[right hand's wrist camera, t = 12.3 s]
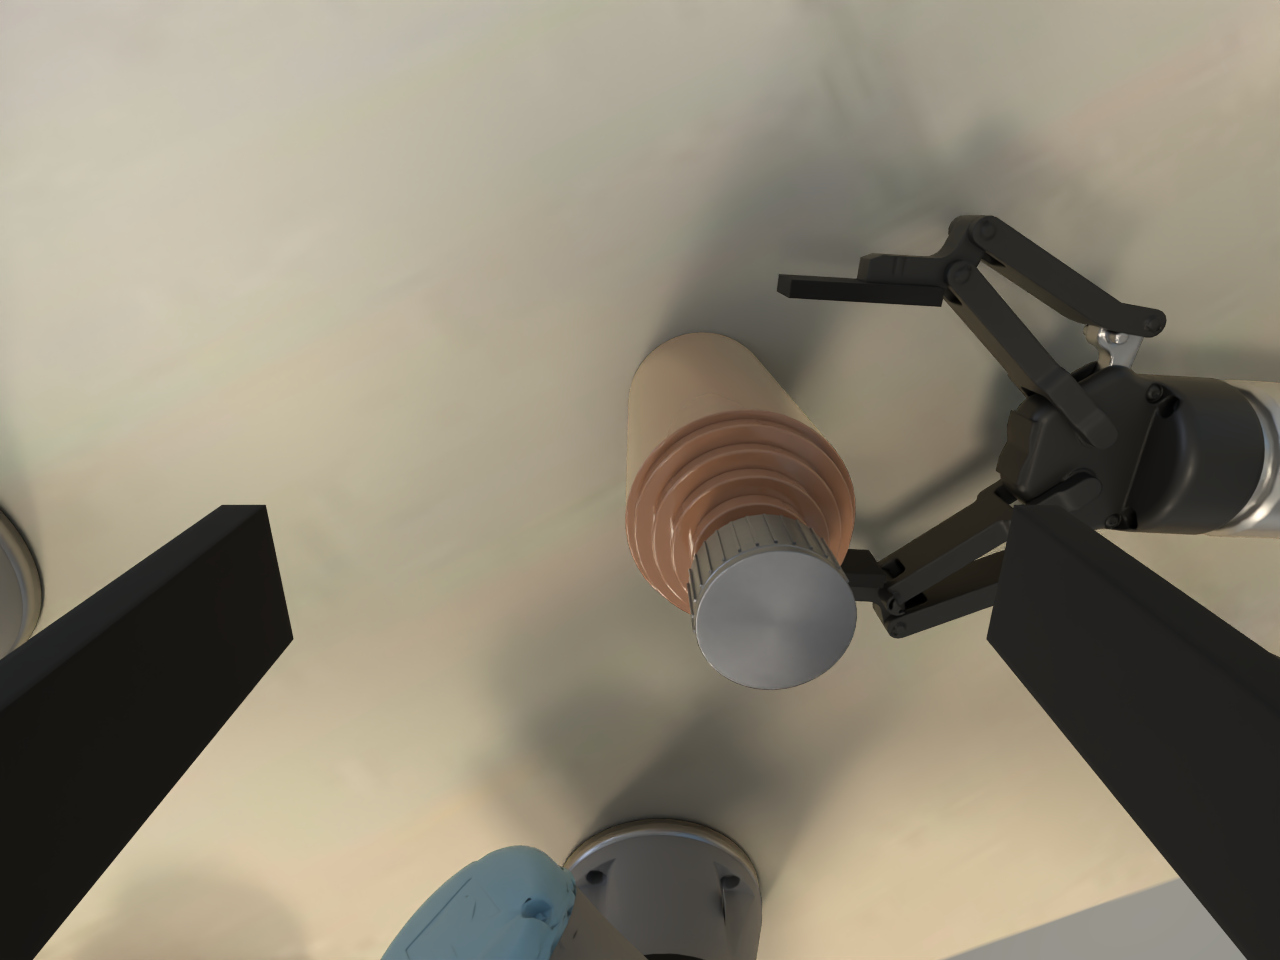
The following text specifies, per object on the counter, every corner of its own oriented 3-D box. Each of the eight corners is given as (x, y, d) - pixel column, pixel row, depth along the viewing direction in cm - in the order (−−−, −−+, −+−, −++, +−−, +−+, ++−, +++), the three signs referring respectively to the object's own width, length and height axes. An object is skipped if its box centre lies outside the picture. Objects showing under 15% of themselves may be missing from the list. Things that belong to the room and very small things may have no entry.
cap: (860, 596, 21) (887, 642, 19) (735, 665, 22) (747, 716, 19) (788, 483, 19) (808, 518, 17) (658, 561, 20) (661, 604, 18)
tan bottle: (796, 422, 40) (973, 649, 19) (678, 496, 41) (722, 778, 21) (723, 302, 37) (835, 413, 17) (600, 385, 39) (562, 579, 18)
